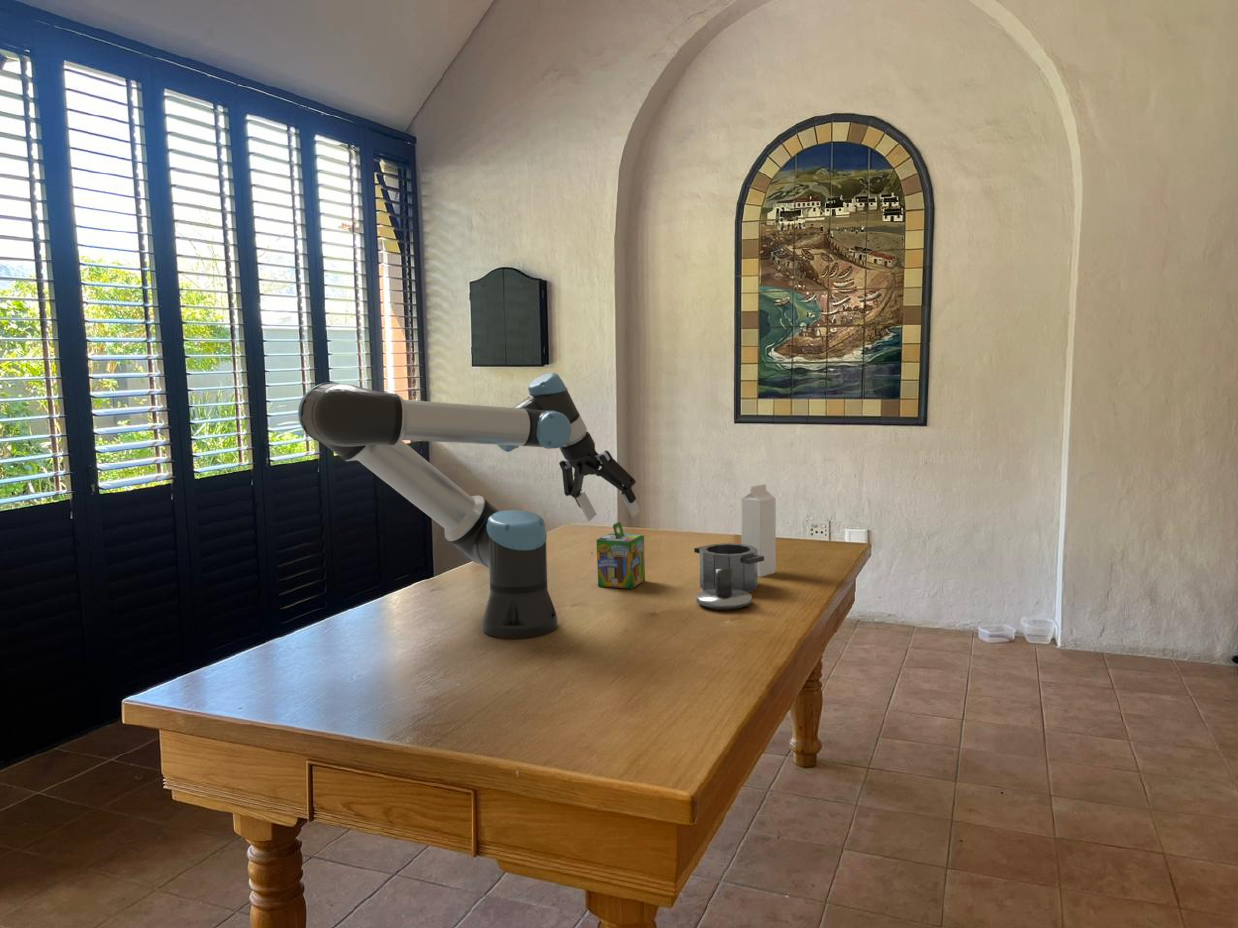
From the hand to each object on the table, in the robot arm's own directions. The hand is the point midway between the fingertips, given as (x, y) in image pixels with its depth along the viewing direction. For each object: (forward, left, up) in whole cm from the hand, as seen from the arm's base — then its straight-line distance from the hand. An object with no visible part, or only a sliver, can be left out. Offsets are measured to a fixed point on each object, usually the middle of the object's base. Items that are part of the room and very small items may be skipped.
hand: (613, 515), depth 217 cm
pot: (+21, -16, -18) cm, 32 cm away
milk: (+36, -12, -18) cm, 42 cm away
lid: (+9, -26, -18) cm, 33 cm away
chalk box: (+5, +4, -18) cm, 19 cm away
